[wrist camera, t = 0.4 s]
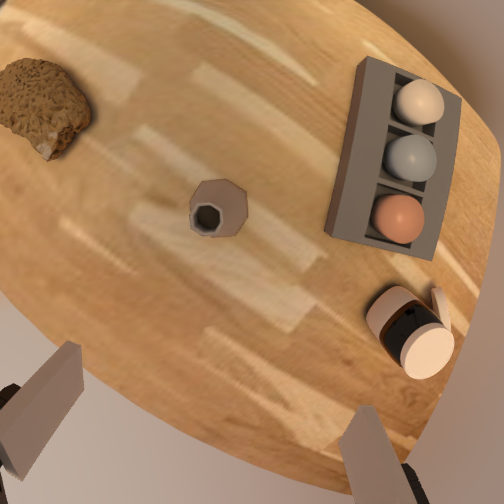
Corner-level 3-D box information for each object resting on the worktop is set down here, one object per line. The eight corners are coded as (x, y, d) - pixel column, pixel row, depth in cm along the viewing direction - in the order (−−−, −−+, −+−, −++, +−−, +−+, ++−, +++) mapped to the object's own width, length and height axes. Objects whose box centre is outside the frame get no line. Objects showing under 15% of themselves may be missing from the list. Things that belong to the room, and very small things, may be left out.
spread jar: (352, 312, 40) (382, 357, 29) (409, 252, 38) (457, 278, 27) (398, 356, 42) (430, 401, 31) (449, 303, 40) (492, 337, 29)
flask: (255, 186, 36) (256, 189, 27) (240, 244, 38) (236, 267, 28) (197, 172, 36) (176, 170, 26) (183, 230, 38) (160, 247, 28)
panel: (357, 66, 32) (367, 55, 29) (446, 103, 33) (461, 98, 29) (323, 230, 38) (331, 236, 34) (417, 253, 38) (431, 261, 34)
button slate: (387, 132, 32) (402, 127, 28) (423, 145, 32) (439, 143, 28) (379, 173, 33) (393, 173, 29) (415, 185, 33) (432, 187, 30)
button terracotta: (376, 188, 34) (390, 190, 30) (412, 199, 34) (428, 203, 30) (366, 231, 35) (378, 237, 31) (402, 240, 35) (417, 247, 31)
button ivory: (394, 81, 30) (409, 72, 27) (429, 96, 31) (445, 89, 27) (389, 118, 32) (404, 112, 28) (425, 132, 32) (441, 129, 28)
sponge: (110, 107, 35) (38, 30, 28) (82, 114, 28) (6, 27, 21) (60, 172, 39) (-3, 95, 32) (31, 189, 33) (-35, 103, 25)
